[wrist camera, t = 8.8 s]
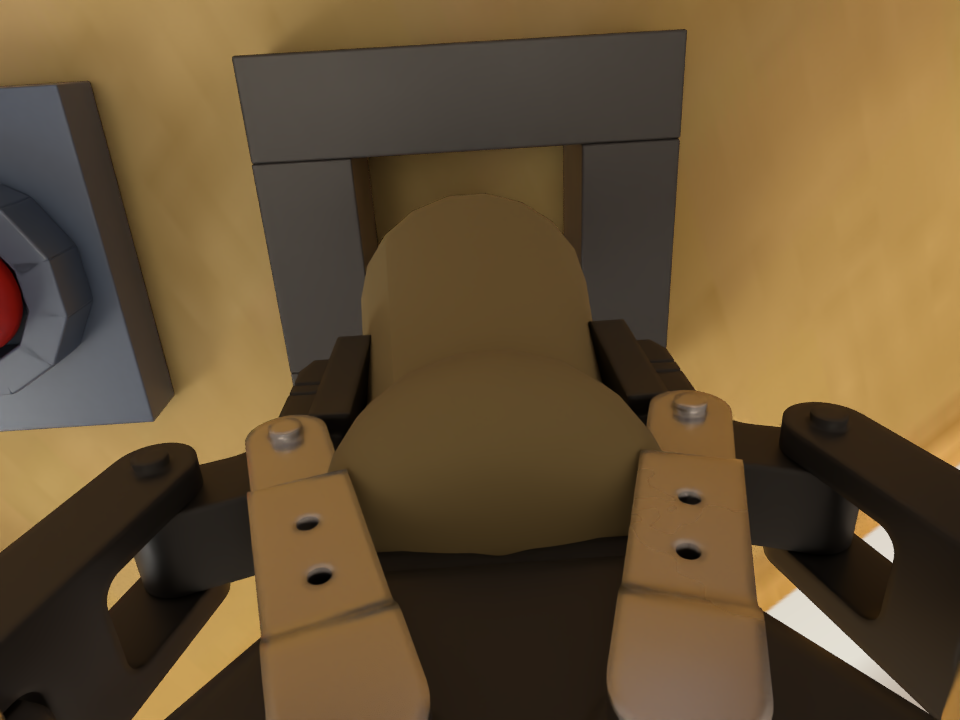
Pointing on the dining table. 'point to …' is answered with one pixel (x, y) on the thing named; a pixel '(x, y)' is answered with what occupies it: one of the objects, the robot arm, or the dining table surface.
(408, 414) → the cork
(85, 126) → the power block
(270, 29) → the dining table surface
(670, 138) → the socket
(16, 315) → the power button
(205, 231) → the dining table surface
